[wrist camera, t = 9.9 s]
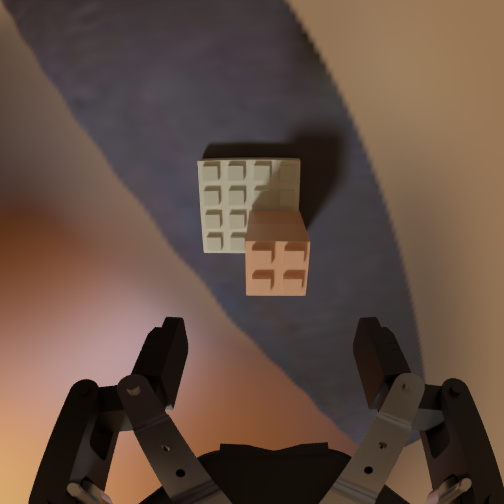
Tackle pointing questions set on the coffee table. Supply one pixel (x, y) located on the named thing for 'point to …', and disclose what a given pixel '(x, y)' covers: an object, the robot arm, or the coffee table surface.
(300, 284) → the brick stack
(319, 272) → the coffee table surface
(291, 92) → the coffee table surface
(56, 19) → the coffee table surface
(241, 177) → the stud plate
